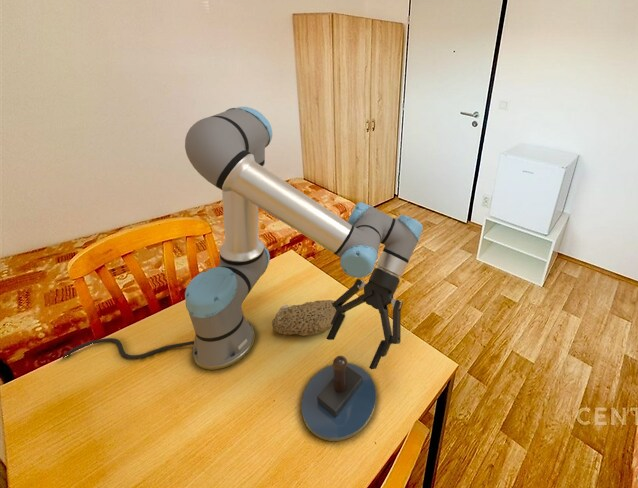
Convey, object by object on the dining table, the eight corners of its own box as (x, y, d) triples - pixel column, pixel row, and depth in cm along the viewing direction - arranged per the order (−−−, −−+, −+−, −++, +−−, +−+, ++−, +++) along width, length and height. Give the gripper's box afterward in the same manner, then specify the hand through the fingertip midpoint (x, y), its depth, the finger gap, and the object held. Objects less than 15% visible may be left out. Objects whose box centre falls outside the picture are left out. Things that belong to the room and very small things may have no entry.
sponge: (272, 343, 93) (338, 341, 90) (266, 320, 91) (333, 317, 88) (291, 314, 105) (349, 312, 103) (286, 294, 104) (345, 290, 101)
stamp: (335, 417, 74) (334, 383, 68) (317, 402, 77) (314, 368, 71) (362, 383, 82) (363, 349, 76) (344, 370, 84) (344, 337, 79)
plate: (291, 439, 71) (291, 436, 70) (313, 363, 87) (312, 360, 86) (372, 443, 71) (372, 440, 70) (378, 367, 87) (378, 365, 86)
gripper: (433, 295, 80) (398, 379, 75) (357, 257, 92) (321, 328, 87) (426, 291, 74) (386, 383, 69) (345, 251, 85) (305, 328, 80)
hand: (350, 353), depth 78 cm, fingers open, 13 cm apart
